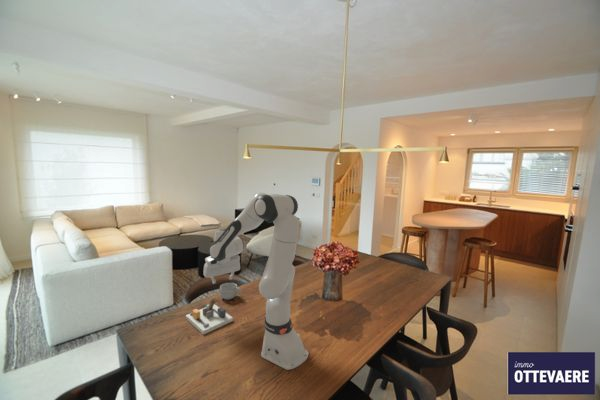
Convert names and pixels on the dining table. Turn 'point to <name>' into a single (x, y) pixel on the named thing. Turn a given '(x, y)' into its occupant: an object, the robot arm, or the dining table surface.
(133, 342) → the dining table surface
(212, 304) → the walnut lever
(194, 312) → the orange slider
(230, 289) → the teacup
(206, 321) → the panel
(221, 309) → the black slider
